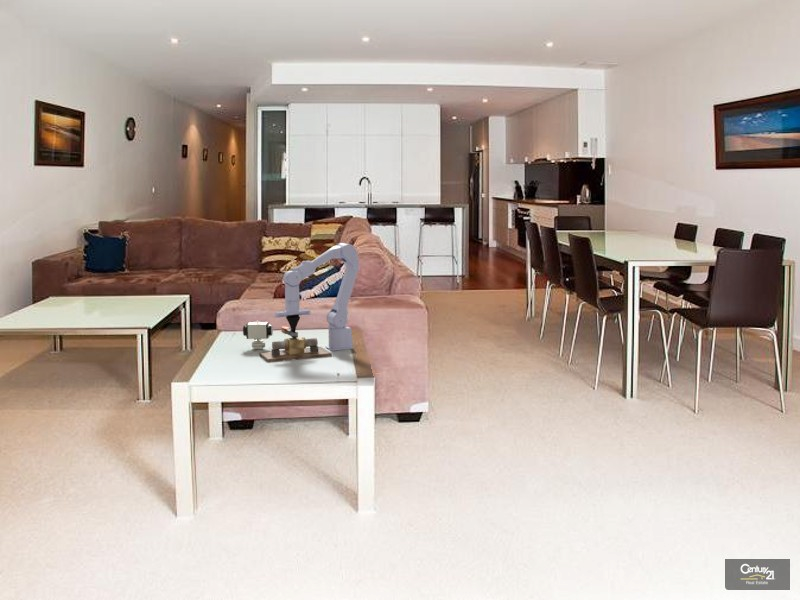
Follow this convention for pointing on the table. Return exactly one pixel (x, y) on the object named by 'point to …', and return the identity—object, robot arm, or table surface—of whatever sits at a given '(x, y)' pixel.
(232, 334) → the table surface
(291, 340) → the ball valve
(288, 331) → the valve lever
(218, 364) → the table surface
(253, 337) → the pneumatic valve
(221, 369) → the table surface
